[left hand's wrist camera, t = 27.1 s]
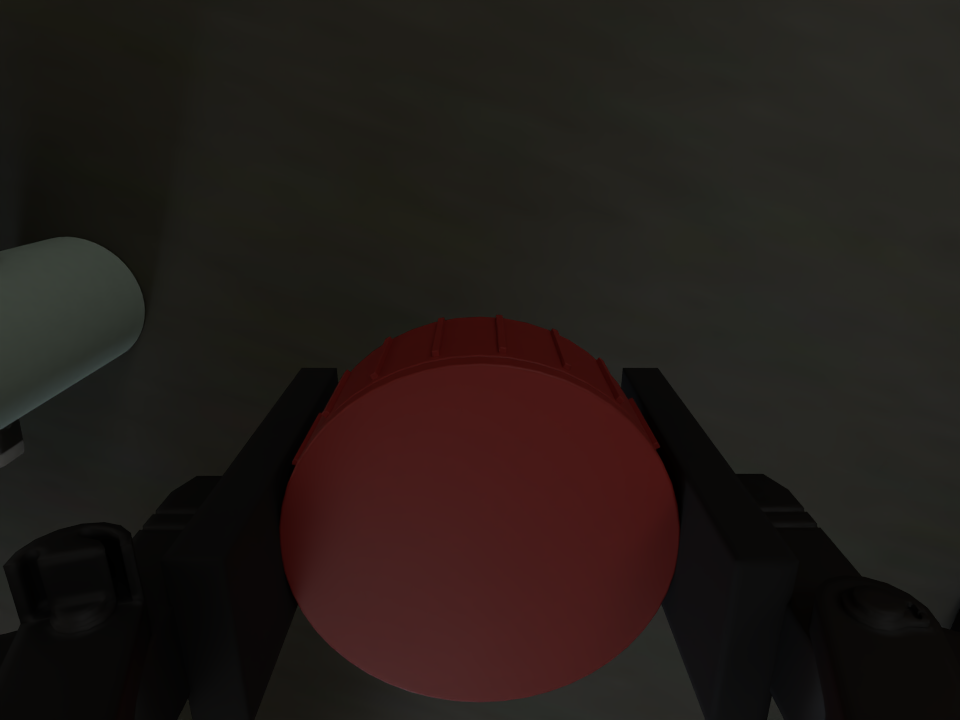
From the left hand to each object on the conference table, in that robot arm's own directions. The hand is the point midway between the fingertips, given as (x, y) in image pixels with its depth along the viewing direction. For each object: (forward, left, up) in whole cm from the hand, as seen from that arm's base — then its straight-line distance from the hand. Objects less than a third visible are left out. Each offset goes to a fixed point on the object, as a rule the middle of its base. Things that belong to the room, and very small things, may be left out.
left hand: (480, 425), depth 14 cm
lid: (0, 0, +4) cm, 4 cm away
